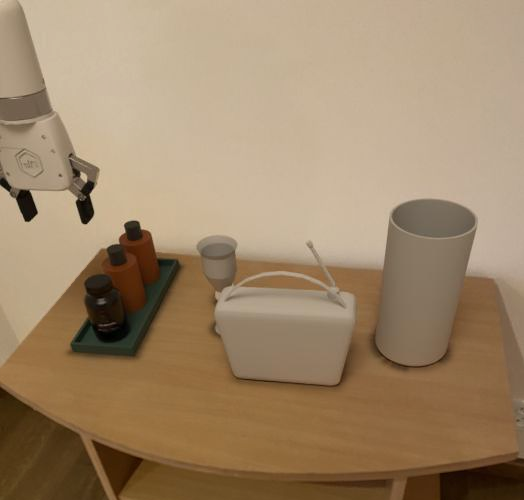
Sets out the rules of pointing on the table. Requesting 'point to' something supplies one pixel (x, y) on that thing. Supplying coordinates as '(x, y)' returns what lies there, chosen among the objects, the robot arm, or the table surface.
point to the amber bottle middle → (125, 277)
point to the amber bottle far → (141, 251)
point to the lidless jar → (218, 294)
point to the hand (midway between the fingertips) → (59, 219)
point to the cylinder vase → (423, 278)
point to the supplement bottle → (105, 309)
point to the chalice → (218, 261)
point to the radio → (287, 330)
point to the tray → (130, 318)
